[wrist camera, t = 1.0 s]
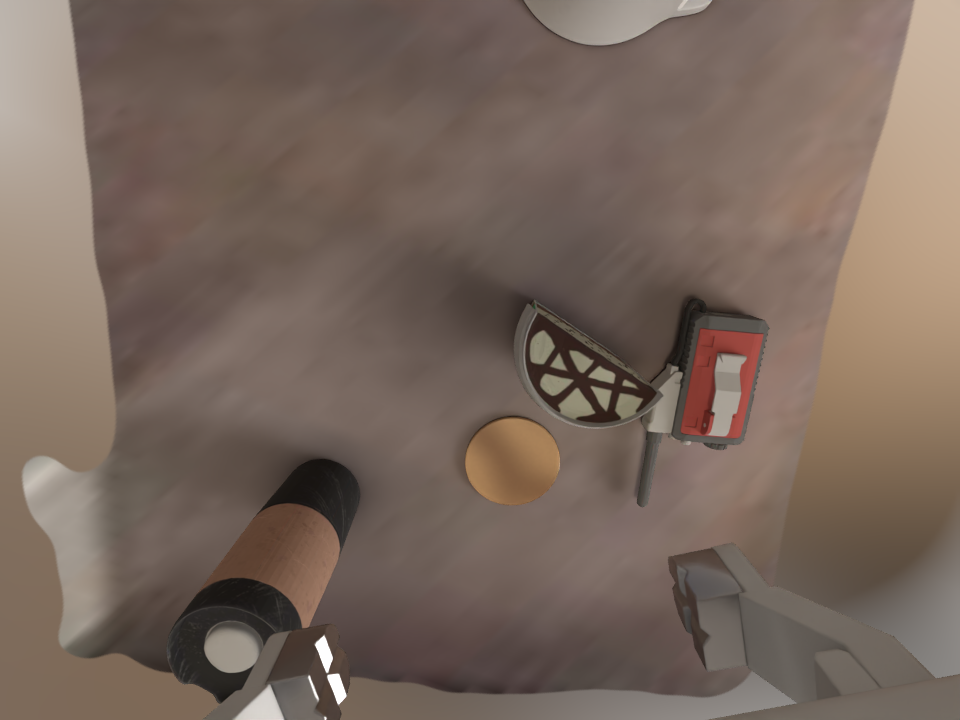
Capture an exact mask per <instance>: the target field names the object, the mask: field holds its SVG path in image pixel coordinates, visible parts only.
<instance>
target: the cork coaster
mask: <svg viewBox="0 0 960 720" xmlns="http://www.w3.org/2000/svg"><path fill="white" fill-rule="evenodd" d="M559 466H560V455H559V451H558V447H557V445H556V442H555V440H554V439H553V437H552V435H551V434H550V433H549V432H548V431H547V430H546V429H545V428H544V427H543V426H541V425H540V424H538V423H536V422H535V421H532V420H530V419H527V418H523V417H503V418H499V419H496V420H494V421H491V422H489V423H488V424H486V425H484V426H483V427H482V428H480V429H479V430H478V431H477V432H476V434H475V435H474V436H473V437H472V439H471V441H470V443H469V445H468V447H467V451H466V457H465V467H466V472H467V476H468V478H469V480H470V482H471V484H472V485H473V487H474V488H475V489H476V490H477V491H478V492H479V493H480V494H481V495H482V496H484V497H485V498H487V499H489V500H491V501H493V502H496V503H499V504H503V505H520V504H525V503H528V502H531V501H533V500H535V499H537V498H539V497H540V496H542V495H543V494H544V493H545V492H546V491H548V489H549V488H550V487H551V486H552V484H553V483H554V481H555V479H556V477H557V475H558V471H559Z"/></svg>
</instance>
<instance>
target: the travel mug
mask: <svg viewBox="0 0 960 720" xmlns="http://www.w3.org/2000/svg"><path fill="white" fill-rule="evenodd" d="M359 498H360V492H359V487H358V483H357V481H356V479H355V478H354V476H353V475H352V474H351V472H350V471H349V470H348V469H346V468H345V467H344V466H342V465H340V464H338V463H336V462H333V461H329V460H313V461H309V462H306V463H304V464H302V465H301V466H299V467H298V468H297V469H296V470H295V471H294V472H293V473H292V474H291V475H290V476H289V477H288V478H287V480H286V481H285V482H284V483H283V484H282V485H281V487H280V488H279V489H278V490H277V491H276V493H275V494H274V495H273V496H272V497H271V498H270V500H269V501H268V502H267V503H266V504H265V506H264V507H263V508H262V509H261V510H260V511H259V513H258V514H257V515H256V516H255V517H254V519H253V520H252V521H251V523H250V524H249V525H248V527H247V528H246V529H245V531H244V532H243V533H242V535H241V536H240V537H239V539H238V540H237V541H236V543H235V544H234V545H233V547H232V548H231V549H230V551H229V552H228V553H227V555H226V556H225V557H224V559H223V560H222V561H221V563H220V564H219V565H218V567H217V568H216V569H215V571H214V572H213V573H212V575H211V576H210V577H209V579H208V580H207V581H206V583H205V584H204V585H203V587H202V588H201V589H200V591H199V592H198V593H197V595H196V596H195V597H194V599H193V600H192V601H191V603H190V604H189V605H188V607H187V608H186V609H185V611H184V612H183V613H182V615H181V616H180V617H179V619H178V620H177V621H176V623H175V625H174V626H173V628H172V630H171V632H170V634H169V637H168V641H167V659H168V662H169V665H170V668H171V670H172V672H173V673H174V675H175V677H176V678H177V679H178V681H179V682H181V683H182V684H195V685H198V686H200V687H202V688H203V689H205V690H207V691H209V692H210V693H212V694H213V695H214V697H215V698H216V701H217V702H218V703H219V704H221V703H222V702H224V701H225V700H226V699H227V698H228V697H229V696H230V695H232V694H233V693H234V692H235V691H238V690H242V688H243V686H244V684H245V682H246V681H247V679H248V677H249V675H250V673H251V671H252V669H253V667H254V665H255V663H256V661H257V659H258V657H259V655H260V654H261V652H262V650H263V648H264V646H265V644H266V642H267V640H268V638H269V637H270V636H272V635H273V634H276V633H281V632H286V631H293V630H296V629H302V628H308V627H309V625H310V622H311V620H312V618H313V615H314V613H315V611H316V609H317V606H318V604H319V602H320V600H321V597H322V595H323V593H324V591H325V588H326V586H327V584H328V582H329V579H330V577H331V575H332V572H333V570H334V568H335V566H336V563H337V561H338V558H339V556H340V553H341V551H342V548H343V545H344V543H345V540H346V537H347V534H348V532H349V529H350V526H351V524H352V521H353V518H354V516H355V513H356V510H357V507H358V503H359Z"/></svg>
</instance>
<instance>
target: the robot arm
mask: <svg viewBox="0 0 960 720" xmlns="http://www.w3.org/2000/svg"><path fill="white" fill-rule="evenodd" d="M711 1H712V0H524V2H525V3H526V5H527V6H528V8H529V9H530V10H531V12H532V13H533V14H534V15H535V16H536V18H537V19H538V20H539V21H540V22H541V23H542V24H544V25H545V26H546V27H547V28H549V29H550V30H551V31H553V32H554V33H556V34H558V35H560V36H561V37H563V38H566V39H568V40H571V41H574V42H577V43H581V44H586V45H611V44H617V43H621V42H624V41H627V40H630V39H632V38H635V37H637V36H639V35H641V34H642V33H644V32H646V31H647V30H649V29H651V28H652V27H654V26H655V25H657V24H658V23H660V22H662V21H664V20H666V19H668V18H671V17H679V16H686V15H691V14H695V13H698V12H700V11H702V10H704V9H705V8H707V7H708V5H709V4H710V3H711ZM668 564H669V571H670V573H671V575H672V577H673V579H674V581H675V584H674V586H673V588H672V589H673V594H674V600H675V603H676V607H677V610H678V614H679V616H680V619H681V621H682V623H683V625H684V627H685V629H686V631H687V632H688V633H690V634H692V635H693V641H694V647H695V649H696V651H697V653H698V655H699V657H700V659H701V661H702V663H703V664H704V666H705V668H706V670H707V672H710V671H716V670H723V669H729V668H736V667H742V666H748V668H749V669H750V670H752V671H753V672H755V673H756V674H757V675H759V676H760V677H762V678H763V679H764V680H766V681H767V682H769V683H770V684H771V685H773V686H774V687H776V688H777V689H779V690H780V691H781V692H782V693H784V694H785V695H787V696H788V697H790V698H791V699H792V700H794V701H795V702H797V703H798V704H792V705H786V706H781V707H775V708H770V709H764V710H759V711H754V712H748V713H742V714H737V715H731V716H726V717H721V718H715V719H710V720H960V674H958V675H953V676H947V677H942V678H935V677H934V676H933V675H932V674H931V673H930V672H929V671H928V670H927V669H926V668H925V667H924V666H923V665H922V664H921V663H920V662H919V661H918V660H917V659H916V658H915V657H914V656H913V655H912V654H911V653H910V652H909V651H908V650H907V649H906V648H905V647H904V646H903V645H902V644H901V643H900V642H899V641H898V640H897V639H896V638H895V637H894V636H891V635H889V634H887V633H884V632H882V631H880V630H877V629H875V628H873V627H871V626H868V625H866V624H863V623H861V622H859V621H856V620H854V619H852V618H849V617H847V616H845V615H843V614H840V613H838V612H835V611H833V610H831V609H829V608H826V607H824V606H822V605H819V604H817V603H815V602H812V601H810V600H807V599H805V598H803V597H801V596H798V595H796V594H794V593H791V592H789V591H787V590H784V589H782V588H780V587H778V586H776V587H770V586H769V585H768V584H767V582H766V581H765V580H764V579H763V578H762V576H761V575H760V574H759V573H758V571H757V570H756V569H755V568H754V566H753V565H752V564H751V563H750V562H749V560H748V559H747V558H746V557H745V555H744V554H743V553H742V552H741V551H740V549H739V548H738V547H737V546H736V544H734V543H728V544H723V545H719V546H714V547H711V548H709V549H704V550H699V551H694V552H689V553H684V554H679V555H674V556H670V557H668ZM339 638H340V635H339V633H338V630H337V628H336V626H335V625H333V624H325V625H319V626H314V627H308V628H302V629H296V630H293V631H286V632H281V633H276V634H273V635H272V636H270V637H269V638H268V640H267V642H266V644H265V646H264V648H263V650H262V652H261V654H260V655H259V657H258V659H257V661H256V663H255V665H254V667H253V669H252V671H251V673H250V675H249V677H248V679H247V681H246V682H245V684H244V686H243V688H242V690H238V691H235V692H234V693H233V694H232V695H230V696H229V697H228V698H227V699H226V700H225V701H224V702H222V703H221V704H220V705H219V706H218V707H217V708H216V709H214V710H213V711H212V712H211V713H210V714H209V715H207V716H206V717H205V718H204V719H203V720H340V717H341V711H340V708H339V704H340V703H341V701H343V699H344V698H345V697H346V696H347V693H348V689H349V685H350V667H349V661H348V658H347V655H346V652H345V651H343V650H342V649H341V648H339V647H338V646H337V644H338V641H339Z"/></svg>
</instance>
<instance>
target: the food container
mask: <svg viewBox="0 0 960 720" xmlns="http://www.w3.org/2000/svg"><path fill="white" fill-rule="evenodd" d="M514 360H515V366H516V370H517V373H518V377H519V379H520V381H521V383H522V385H523V387H524V389H525V390H526V392H527V393H528V395H529V396H530V397H531V398H532V399H533V401H534V402H535V403H536V404H537V405H538V406H539V407H541V408H542V409H543V410H545V411H546V412H547V413H549V414H550V415H552V416H553V417H555V418H557V419H559V420H560V421H562V422H565V423H568V424H570V425H573V426H577V427H583V428H595V429H600V428H609V427H615V426H619V425H623V424H626V423H628V422H631V421H633V420H635V419H637V418H639V417H641V416H642V415H644V414H646V413H647V412H648V411H650V410H651V409H652V408H653V407H655V406H656V405H657V404H658V403H659V402H660V401H661V400H662V398H663V397H664V395H663V394H662V392H661V391H658V390H657V389H656V388H654V387H653V386H652V385H651V384H650V383H649V382H648V381H646V380H645V379H644V378H643V377H642V376H641V375H640V374H639V373H637V372H636V371H635V370H634V369H633V368H632V367H631V366H629V365H628V364H627V363H626V362H625V361H624V360H623V359H621V358H620V357H619V356H618V355H616V354H615V353H613V352H612V351H610V350H609V349H607V348H606V347H604V346H603V345H601V344H600V343H598V342H597V341H595V340H594V339H592V338H591V337H589V336H588V335H586V334H585V333H583V332H582V331H580V330H579V329H577V328H576V327H574V326H573V325H571V324H570V323H568V322H567V321H565V320H564V319H562V318H561V317H559V316H558V315H556V314H555V313H553V312H552V311H550V310H549V309H547V308H546V307H544V306H543V305H541V304H540V303H538V302H537V301H535V300H533V302H532V304H531V305H530V304H527V306H526V307H525V309H524V311H523V313H522V315H521V317H520V320H519V323H518V325H517V329H516V333H515V338H514Z"/></svg>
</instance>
